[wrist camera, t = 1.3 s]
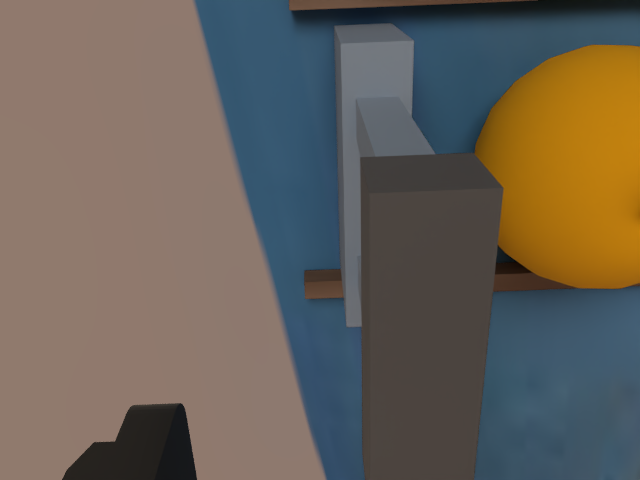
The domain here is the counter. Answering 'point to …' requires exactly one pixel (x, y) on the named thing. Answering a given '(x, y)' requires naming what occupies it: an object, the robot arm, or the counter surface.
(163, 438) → the robot arm
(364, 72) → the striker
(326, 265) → the counter surface
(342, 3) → the rails
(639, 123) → the orange
